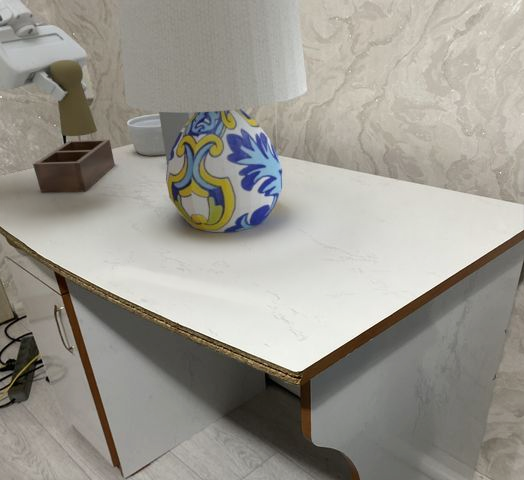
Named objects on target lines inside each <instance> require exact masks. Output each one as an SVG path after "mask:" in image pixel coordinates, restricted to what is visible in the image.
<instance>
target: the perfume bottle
mask: <svg viewBox="0 0 524 480" xmlns="http://www.w3.org/2000/svg"><path fill="white" fill-rule="evenodd" d="M158 114H159V115H160V122H161V128H162V135H163V141H164V148H165V154H166V155H165V160H166V165H167V164H168V161H169V157H170V154H171V150H172V147H173V145H174V143H175V141H176V139H177V137H178V135H179V133H180V131H181V130H182V128H183V127H184V126H185V125H186V124H187V122H188V121H189V120H190V119H191V117H192V116H193V115H194V114H195V112H184V113H177V112H158Z"/></svg>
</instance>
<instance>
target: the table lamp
mask: <svg viewBox="0 0 524 480" xmlns="http://www.w3.org/2000/svg"><path fill="white" fill-rule="evenodd" d="M117 8H118V18H119V19H118V20H119V34H120V35H119V36H120V46H121V47H120V48H121V58H122V71H123V72H122V73H123V85H124V96H125V97H124V99H125V104H126V105H127V106H128V107H131V108H133V109H136V110H142V111H146V112H157V113H159V112H177V113H184V112H195V114H194V115H193V116H192V117H191V119H190V120H189V121H188V122H187V124H186V125H185V126H184V127H183V128H182V130H181V131H180V133H179V135H178V137H177V139H176V141H175V143H174V145H173V147H172V150H171V154H170V157H169V161H168V164H167V163H166V174H165V176H166V177H165V183H166V187H167V192H168V197H169V199H170V201H171V202H172V204H173V206H174V207H175V209H176V210H177V212H178V213H179V214H180V215H181V216H182V218H184V220H185V221H186V222H187V223H188V224H189V225H190V226H191V227H193V228H194V229H197V230H200V231H203V232H209V231H210V233H231V232H232V231H233V232H240V231H244V229H245V230H248V229H250V228H251V229H252V228H254V227H257V226H259V225H261V224H262V223H264V222H265V221H266V220H268V217H269V216H270V214H271V212H272V211H273V209H274V208H275V206H276V204H277V203H278V199H279V197H280V195H281V191H282V189H283V169H282V165H281V161H280V158H279V155H278V153H277V151H276V149H275V147H274V145H273V143H272V141H271V139H270V138H269V136H268V135H267V134H266V132H265V131H264V130H263V128H262V126H260V124H259V123H258V122H257V121H256V120H254V119H253V118H252V117H251V116H250V115H249V114H247V113H246V112H245V111H244V109H250V108H252V109H253V108H258V107H263V106H264V107H265V106H269V105H273V104H279V103H282V102H286V101H290V100H293V99H295V98H299V97H300V96H302V95H304V94H305V93H306V92H307V90H308V85H307V83H308V82H307V74H306V65H305V56H304V48H303V47H304V46H303V37H302V29H301V27H302V26H301V17H300V10H299V9H300V8H299V0H117ZM233 232H232V233H233Z"/></svg>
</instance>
